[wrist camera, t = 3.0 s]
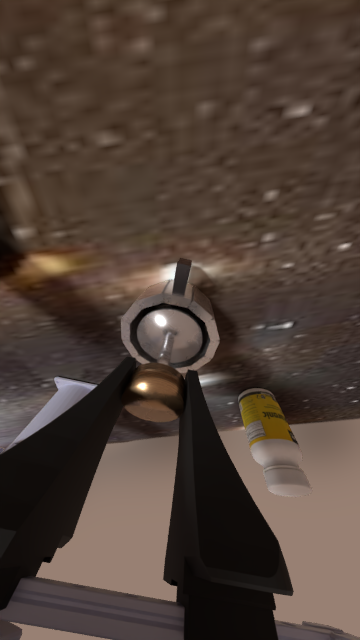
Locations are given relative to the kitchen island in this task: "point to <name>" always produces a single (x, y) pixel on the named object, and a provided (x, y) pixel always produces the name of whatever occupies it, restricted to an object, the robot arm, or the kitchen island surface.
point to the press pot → (176, 295)
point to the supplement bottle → (273, 443)
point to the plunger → (162, 364)
